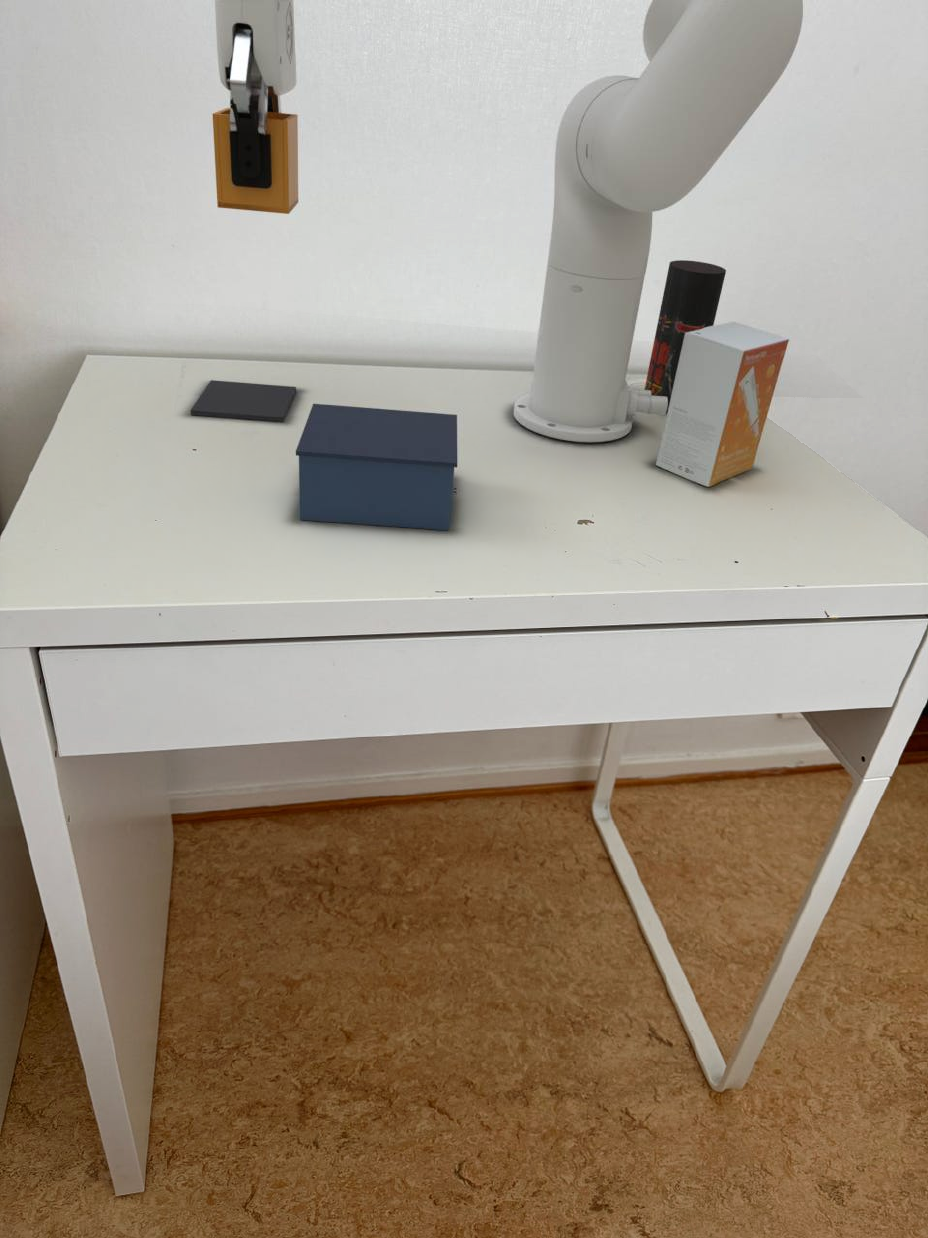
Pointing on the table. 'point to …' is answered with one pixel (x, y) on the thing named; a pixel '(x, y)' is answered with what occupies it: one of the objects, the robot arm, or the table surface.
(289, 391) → the rubber mat
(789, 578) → the table surface
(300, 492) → the storage tub
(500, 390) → the table surface
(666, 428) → the small box
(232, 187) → the amber container
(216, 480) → the table surface
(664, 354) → the deodorant
